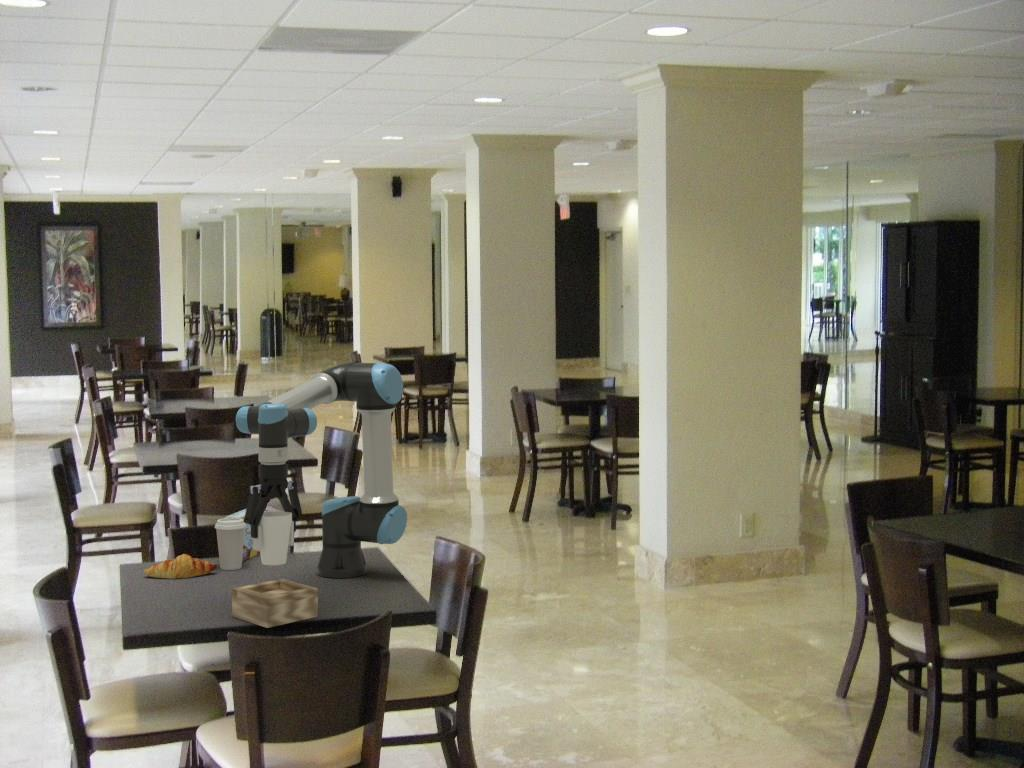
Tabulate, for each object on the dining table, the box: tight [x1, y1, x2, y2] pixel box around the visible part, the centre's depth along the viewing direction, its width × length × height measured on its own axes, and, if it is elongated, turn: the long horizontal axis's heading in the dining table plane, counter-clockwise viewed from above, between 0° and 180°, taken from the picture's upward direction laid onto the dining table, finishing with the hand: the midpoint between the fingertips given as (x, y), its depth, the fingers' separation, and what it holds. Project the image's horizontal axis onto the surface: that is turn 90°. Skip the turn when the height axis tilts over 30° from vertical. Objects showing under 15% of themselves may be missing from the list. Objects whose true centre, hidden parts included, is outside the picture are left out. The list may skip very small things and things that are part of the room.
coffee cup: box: [214, 517, 246, 571], centre depth 383 cm, size 10×10×15 cm
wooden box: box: [231, 578, 319, 629], centre depth 326 cm, size 16×16×8 cm
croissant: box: [144, 553, 218, 580], centre depth 373 cm, size 21×10×8 cm, turn 107°
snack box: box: [224, 507, 267, 563], centre depth 398 cm, size 21×6×15 cm, turn 168°
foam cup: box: [259, 510, 292, 566], centre depth 324 cm, size 10×9×13 cm
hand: (273, 547), depth 324 cm, fingers closed on foam cup, 9 cm apart
